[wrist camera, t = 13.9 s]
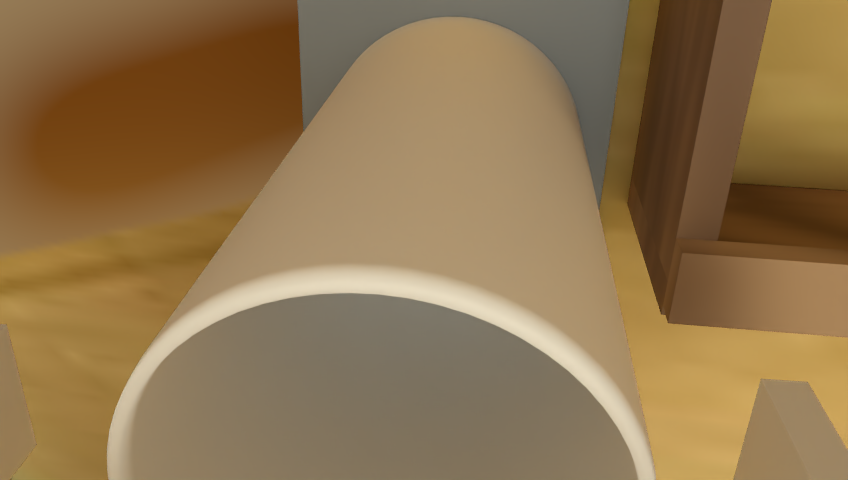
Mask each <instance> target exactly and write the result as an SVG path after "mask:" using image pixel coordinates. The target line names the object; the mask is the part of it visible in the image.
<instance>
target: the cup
mask: <svg viewBox="0 0 848 480" xmlns="http://www.w3.org/2000/svg"><path fill="white" fill-rule="evenodd" d="M107 472H108V480H656V473H655V466H654V461H653V456H652V452H651V447H650V442H649V438H648V433H647V429H646V424H645V419H644V415H643V410H642V405H641V401H640V396H639V391H638V387H637V382H636V378H635V373H634V368H633V364H632V359H631V355H630V350H629V346H628V341H627V337H626V332H625V327H624V323H623V318H622V314H621V309H620V305H619V300H618V296H617V291H616V287H615V282H614V278H613V273H612V268H611V264H610V259H609V255H608V250H607V246H606V241H605V237H604V232H603V228H602V223H601V219H600V214H599V209H598V205H597V200H596V196H595V191H594V187H593V182H592V178H591V173H590V169H589V164H588V160H587V155H586V150H585V146H584V141H583V137H582V132H581V128H580V123H579V119H578V114H577V110H576V106H575V103H574V100H573V97H572V95H571V93H570V90H569V88H568V86H567V84H566V82H565V81H564V79H563V77H562V76H561V74H560V72H559V71H558V70H557V68H556V67H555V66H554V64H553V63H552V62H551V61H550V60H549V59H548V58H547V57H546V56H545V54H544V53H543V52H541V51H540V50H539V49H538V48H537V47H536V46H535V45H533V44H532V43H531V42H529V41H528V40H526V39H525V38H524V37H522V36H520V35H518V34H517V33H515V32H513V31H511V30H509V29H507V28H505V27H502V26H500V25H497V24H494V23H491V22H488V21H484V20H479V19H475V18H467V17H436V18H430V19H425V20H420V21H417V22H413V23H410V24H407V25H405V26H402V27H400V28H398V29H396V30H394V31H392V32H390V33H388V34H386V35H385V36H383V37H382V38H380V39H379V40H377V41H376V42H374V43H373V44H372V45H371V46H370V47H368V48H367V49H366V50H365V51H364V52H363V53H362V54H361V55H360V56H359V57H358V58H357V59H356V61H355V62H354V63H353V65H352V66H351V67H350V68H349V70H348V71H347V73H346V74H345V75H344V77H343V78H342V79H341V81H340V82H339V84H338V85H337V86H336V88H335V89H334V90H333V92H332V93H331V95H330V96H329V97H328V99H327V100H326V102H325V103H324V104H323V106H322V107H321V108H320V110H319V111H318V113H317V114H316V115H315V117H314V118H313V120H312V121H311V122H310V124H309V125H308V126H307V128H306V129H305V131H304V132H303V133H302V135H301V136H300V138H299V139H298V140H297V142H296V143H295V144H294V146H293V147H292V149H291V150H290V151H289V153H288V154H287V156H286V157H285V158H284V160H283V161H282V163H281V164H280V165H279V167H278V168H277V169H276V171H275V172H274V173H273V175H272V176H271V178H270V179H269V181H268V182H267V183H266V185H265V186H264V187H263V189H262V190H261V191H260V193H259V194H258V196H257V197H256V198H255V200H254V201H253V203H252V204H251V205H250V207H249V208H248V209H247V211H246V212H245V214H244V215H243V216H242V218H241V219H240V221H239V222H238V223H237V225H236V226H235V227H234V229H233V230H232V232H231V233H230V234H229V236H228V237H227V239H226V240H225V241H224V243H223V244H222V245H221V247H220V248H219V250H218V251H217V252H216V254H215V255H214V256H213V258H212V259H211V261H210V262H209V263H208V265H207V266H206V268H205V269H204V270H203V272H202V273H201V274H200V276H199V277H198V279H197V280H196V281H195V283H194V284H193V286H192V287H191V288H190V290H189V291H188V293H187V294H186V295H185V297H184V298H183V300H182V301H181V302H180V304H179V305H178V307H177V308H176V309H175V311H174V312H173V314H172V315H171V316H170V318H169V319H168V321H167V322H166V323H165V325H164V326H163V328H162V329H161V330H160V332H159V333H158V335H157V336H156V337H155V339H154V340H153V341H152V343H151V344H150V346H149V347H148V348H147V350H146V351H145V353H144V354H143V356H142V357H141V359H140V361H139V362H138V364H137V366H136V367H135V369H134V371H133V372H132V374H131V376H130V378H129V380H128V382H127V384H126V386H125V388H124V390H123V392H122V394H121V397H120V399H119V401H118V404H117V406H116V408H115V411H114V415H113V419H112V422H111V426H110V430H109V438H108V445H107Z"/></svg>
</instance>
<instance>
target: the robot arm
mask: <svg viewBox="0 0 848 480" xmlns="http://www.w3.org/2000/svg"><path fill="white" fill-rule="evenodd" d="M36 445H37V444H36V440H35V436H34V432H33V428H32V424H31V420H30V416H29V412H28V408H27V404H26V400H25V396H24V392H23V388H22V384H21V380H20V376H19V372H18V368H17V364H16V360H15V356H14V352H13V348H12V344H11V340H10V336H9V332H8V328H7V325H4V324H0V480H10V479H11V478H12V476H13V475H14V474H15V472H16V471H17V470H18V468H19V467H20V466H21V465H22V463H23V462H24V461H25V459H26V458H27V457H28V455H29V454H30V453H31V452H32V450H33V449H34V448H35V446H36ZM733 480H848V450H847V448H846V447H845V445H844V443H843V442H842V440H841V438H840V436H839V435H838V433H837V431H836V430H835V428H834V426H833V424H832V423H831V421H830V419H829V418H828V416H827V414H826V412H825V411H824V409H823V407H822V406H821V404H820V402H819V400H818V399H817V397H816V395H815V394H814V392H813V390H812V388H811V387H810V385H809V383H808V382H799V381H785V380H771V379H761V381H760V384H759V388H758V392H757V395H756V399H755V403H754V406H753V410H752V413H751V417H750V421H749V424H748V428H747V432H746V435H745V439H744V443H743V446H742V450H741V454H740V457H739V461H738V464H737V468H736V472H735V475H734V479H733Z"/></svg>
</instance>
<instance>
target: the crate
mask: <svg viewBox="0 0 848 480" xmlns="http://www.w3.org/2000/svg"><path fill="white" fill-rule="evenodd" d="M771 2H772V0H660V6H659V12H658V19H657V25H656V31H655V37H654V43H653V49H652V56H651V62H650V68H649V74H648V80H647V86H646V92H645V99H644V105H643V111H642V117H641V123H640V129H639V136H638V142H637V148H636V154H635V160H634V166H633V173H632V179H631V185H630V191H629V197H628V203H627V204H628V208H629V211H630V214H631V217H632V221H633V224H634V227H635V230H636V234H637V237H638V240H639V244H640V247H641V250H642V253H643V257H644V260H645V263H646V266H647V270H648V273H649V276H650V279H651V283H652V286H653V289H654V293H655V296H656V299H657V302H658V306H659V309H660V312H661V314H662V315H666V318H667V321H668V323H672V324H685V325H697V326H710V327H722V328H735V329H748V330H760V331H773V332H785V333H798V334H810V335H823V336H835V337H848V191H841V190H826V189H811V188H796V187H780V186H765V185H750V184H735V183H731V179H732V175H733V170H734V166H735V161H736V157H737V153H738V148H739V144H740V139H741V135H742V130H743V126H744V122H745V117H746V113H747V108H748V104H749V99H750V95H751V91H752V86H753V82H754V77H755V73H756V68H757V64H758V60H759V55H760V51H761V46H762V42H763V37H764V33H765V29H766V24H767V20H768V15H769V11H770V6H771Z"/></svg>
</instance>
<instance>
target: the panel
mask: <svg viewBox="0 0 848 480" xmlns="http://www.w3.org/2000/svg"><path fill="white" fill-rule="evenodd" d="M629 1H630V0H298V20H299V40H300V41H299V42H300V64H301V88H302V107H303V109H302V110H303V132H304V131H305V129H306V128H307V126H308V125H309V124H310V122H311V121H312V120H313V118H314V117H315V115H316V114H317V113H318V111H319V110H320V108H321V107H322V106H323V104H324V103H325V102H326V100H327V99H328V97H329V96H330V95H331V93H332V92H333V90H334V89H335V88H336V86H337V85H338V84H339V82H340V81H341V79H342V78H343V77H344V75H345V74H346V73H347V71H348V70H349V68H350V67H351V66H352V65H353V63H354V62H355V61H356V59H357V58H358V57H359V56H360V55H361V54H362V53H363V52H364V51H365V50H366V49H367V48H368V47H370V46H371V45H372V44H373V43H374V42H376V41H377V40H379V39H380V38H382V37H383V36H385V35H386V34H388V33H390V32H392V31H394V30H396V29H398V28H400V27H402V26H405V25H407V24H410V23H413V22H417V21H420V20H425V19H430V18H436V17H467V18H475V19H479V20H484V21H488V22H491V23H494V24H497V25H500V26H502V27H505V28H507V29H509V30H511V31H513V32H515V33H517V34H518V35H520V36H522V37H524V38H525V39H526V40H528V41H529V42H531V43H532V44H533V45H535V46H536V47H537V48H538V49H539V50H540V51H541V52H543V53H544V54H545V56H546V57H547V58H548V59H549V60H550V61H551V62H552V63H553V64H554V66H555V67H556V68H557V70H558V71H559V72H560V74H561V76H562V77H563V79H564V81H565V82H566V84H567V86H568V88H569V90H570V93H571V95H572V97H573V100H574V103H575V106H576V110H577V114H578V119H579V123H580V128H581V132H582V137H583V141H584V146H585V150H586V155H587V160H588V164H589V169H590V173H591V178H592V182H593V187H594V191H595V196H596V200H597V205H598V209H599V208H600V201H601V194H602V188H603V181H604V174H605V167H606V160H607V153H608V146H609V139H610V132H611V125H612V118H613V112H614V105H615V98H616V91H617V84H618V77H619V70H620V63H621V56H622V49H623V43H624V36H625V29H626V22H627V15H628V8H629Z"/></svg>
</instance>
